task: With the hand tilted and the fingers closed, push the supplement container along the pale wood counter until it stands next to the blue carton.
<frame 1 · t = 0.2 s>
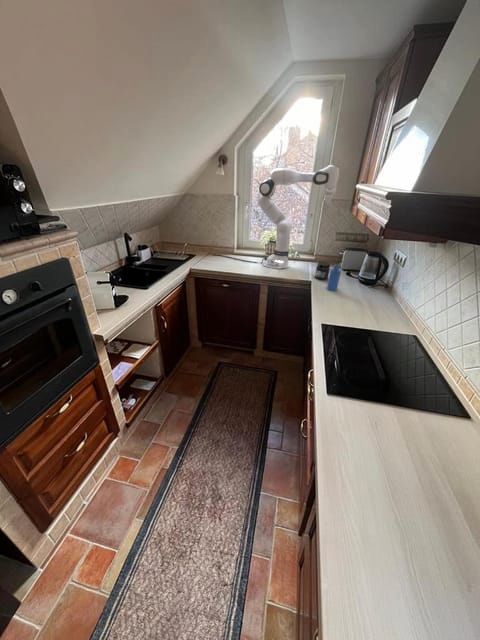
hand: (326, 210, 196), 48 cm above the worktop, tool pointing down, fingers open, 8 cm apart
supplement container: (321, 278, 203), on the worktop
blue carton: (331, 289, 184), on the worktop
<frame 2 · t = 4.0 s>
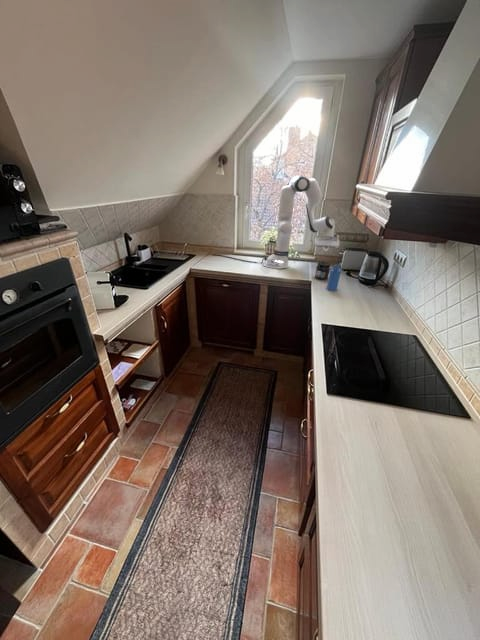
hand: (325, 251, 214), 16 cm above the worktop, tool tilted 45°, fingers closed
nothing on the worktop moved.
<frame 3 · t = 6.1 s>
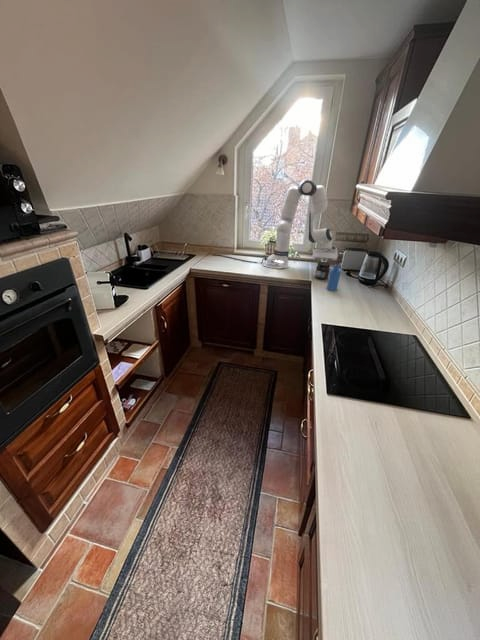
hand: (323, 263, 210), 8 cm above the worktop, tool tilted 45°, fingers closed
nothing on the worktop moved.
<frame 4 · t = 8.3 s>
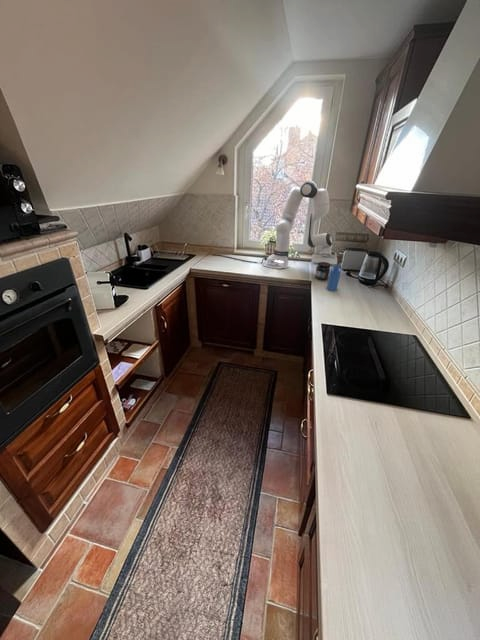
hand: (322, 269, 204), 5 cm above the worktop, tool tilted 45°, fingers closed, pressing on supplement container
supplement container: (321, 278, 202), on the worktop, touching gripper
everything else where it was.
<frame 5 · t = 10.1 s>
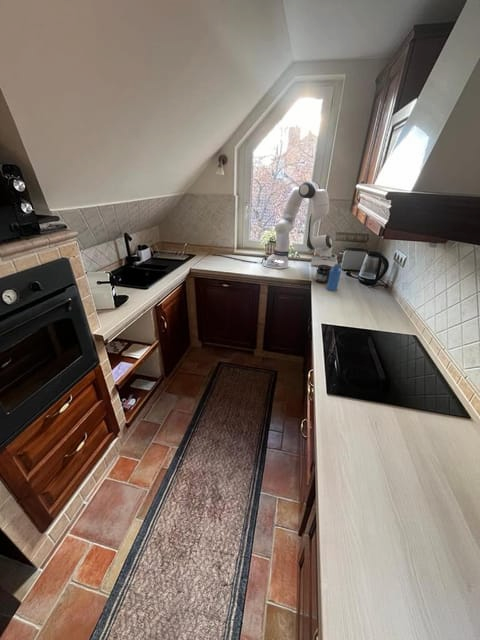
hand: (322, 272, 198), 5 cm above the worktop, tool tilted 45°, fingers closed, pressing on supplement container
supplement container: (321, 281, 196), on the worktop, touching gripper
everything else where it was.
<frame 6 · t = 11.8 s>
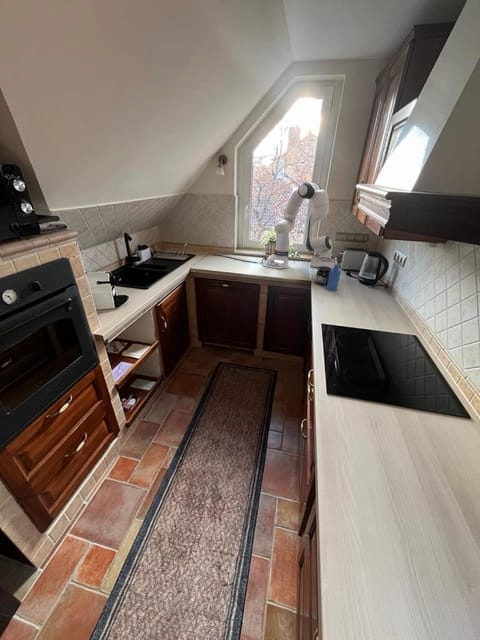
hand: (322, 274, 195), 5 cm above the worktop, tool tilted 45°, fingers closed
supplement container: (321, 283, 193), on the worktop
everything else where it was.
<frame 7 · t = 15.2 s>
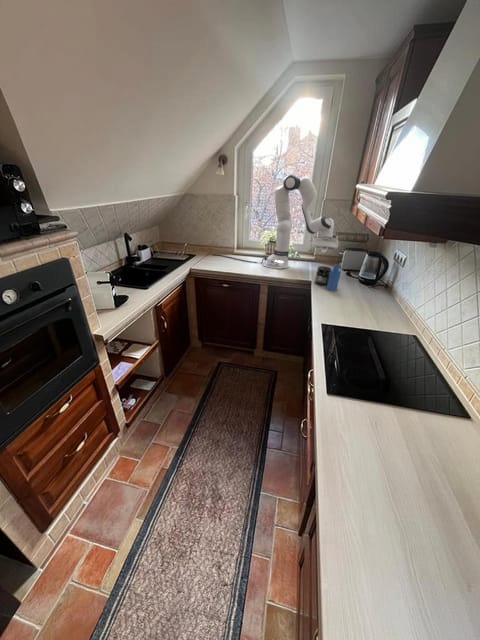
hand: (323, 252, 202), 18 cm above the worktop, tool tilted 45°, fingers closed
nothing on the worktop moved.
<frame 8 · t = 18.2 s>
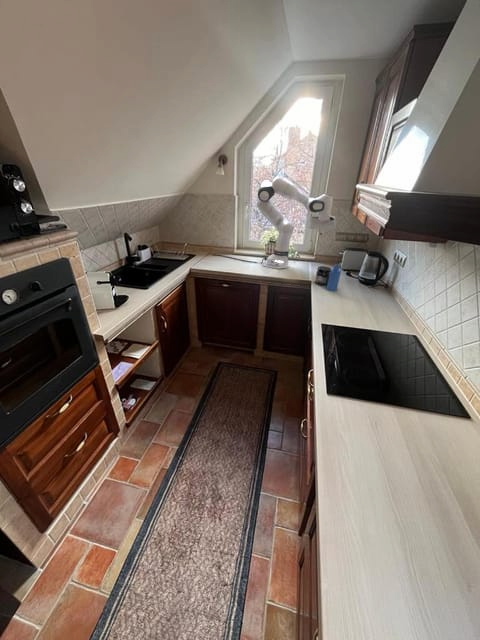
hand: (320, 235, 206), 29 cm above the worktop, tool pointing down, fingers closed
nothing on the worktop moved.
at the end: supplement container 11.6 cm from the blue carton (horizontally); supplement container moved 12.0 cm from its start; blue carton tilted 0° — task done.
